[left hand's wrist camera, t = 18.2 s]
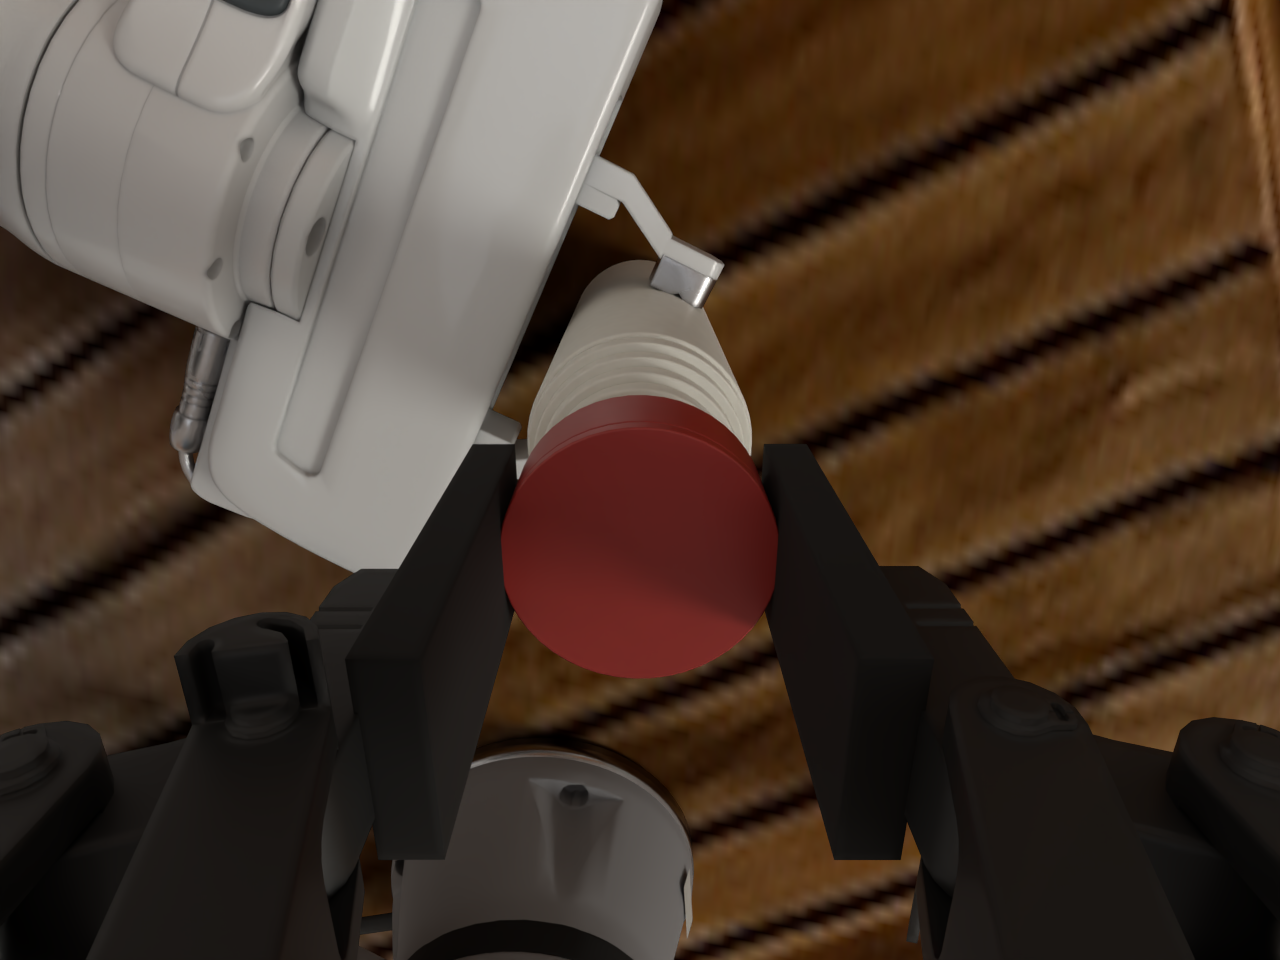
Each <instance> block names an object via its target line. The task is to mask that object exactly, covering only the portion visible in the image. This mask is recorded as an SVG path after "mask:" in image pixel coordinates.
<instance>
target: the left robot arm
mask: <svg viewBox="0 0 1280 960" xmlns="http://www.w3.org/2000/svg"><path fill="white" fill-rule="evenodd" d="M762 484H763V487H764V490H765V492H766V495H767V497H768V500H769V503H770V505H771V508H772V510H773V513H774V516H775V518H776V522H777V527H778V547H777V561H776V574H775V587H774V591H773V594H772V597H771V599H770V601H769V603H768V605H767V607H766V609H765V613H766V617H767V620H768V624H769V628H770V631H771V635H772V638H773V642H774V646H775V649H776V653H777V656H778V660H779V663H780V667H781V671H782V674H783V678H784V681H785V685H786V689H787V692H788V696H789V699H790V703H791V706H792V710H793V714H794V717H795V721H796V724H797V728H798V732H799V735H800V739H801V742H802V746H803V749H804V753H805V757H806V760H807V764H808V767H809V771H810V775H811V778H812V782H813V785H814V789H815V792H816V796H817V800H818V803H819V807H820V810H821V814H822V818H823V821H824V825H825V828H826V832H827V835H828V839H829V843H830V846H831V850H832V853H833V857H834V860H901V855H902V849H903V843H904V837H905V831H906V825H907V822H908V825H909V827H910V830H911V832H912V835H913V837H914V840H915V842H916V845H917V847H918V849H919V852H920V854H921V860H920V865H919V871H918V877H917V882H916V888H915V893H914V899H913V904H912V910H911V915H910V921H909V927H908V934H907V941H908V942H913V943H917V941H918V935H919V930H920V935H921V944H922V952H923V960H1280V732H1279V731H1277V730H1275V729H1272V728H1269V727H1266V726H1263V725H1257V724H1256V723H1252V722H1247V721H1243V720H1235V719H1226V718H1216V717H1211V718H1205V719H1199V720H1193V721H1191V722H1190V723H1189V724H1187V725H1186V726H1185V727H1184V728H1183V729H1181V730H1180V733H1179V736H1178V739H1177V742H1176V745H1175V748H1174V752H1169V751H1164V750H1159V749H1154V748H1150V747H1145V746H1140V745H1135V744H1130V743H1125V742H1120V741H1116V740H1111V739H1108V738H1104V737H1100V736H1097V735H1093V734H1092V732H1091V730H1090V728H1089V726H1088V724H1087V722H1086V721H1085V720H1084V719H1083V717H1082V716H1081V715H1080V713H1079V712H1078V711H1077V709H1076V708H1075V707H1073V706H1072V705H1071V704H1069V703H1068V702H1067V701H1065V700H1064V699H1062V698H1061V697H1060V696H1058V695H1057V694H1055V693H1053V692H1051V691H1049V690H1046V689H1044V688H1042V687H1040V686H1037V685H1035V684H1033V683H1030V682H1026V681H1022V680H1017V679H1014V677H1013V676H1012V674H1011V673H1010V672H1009V670H1008V669H1007V668H1006V666H1005V665H1004V663H1003V662H1002V661H1001V659H1000V658H999V657H998V655H997V654H996V652H995V651H994V650H993V648H992V647H991V646H990V644H989V643H988V642H987V640H986V639H985V637H984V636H983V635H982V633H981V632H980V631H979V629H978V628H977V626H973V621H972V620H971V618H970V617H969V615H968V614H967V613H966V611H965V610H964V609H961V607H960V606H961V604H960V603H959V602H958V600H957V599H956V598H955V596H954V595H953V593H952V592H951V591H950V589H949V588H948V587H947V585H946V584H945V583H943V582H942V581H940V580H939V579H937V578H936V577H934V576H933V575H931V574H930V573H928V572H927V571H925V570H923V569H922V568H920V567H919V566H879V565H878V564H877V562H876V560H875V559H874V557H873V555H872V554H871V552H870V550H869V549H868V547H867V545H866V544H865V542H864V540H863V538H862V537H861V535H860V533H859V532H858V530H857V528H856V527H855V525H854V523H853V522H852V520H851V518H850V517H849V515H848V513H847V512H846V510H845V508H844V507H843V505H842V503H841V501H840V500H839V498H838V496H837V495H836V493H835V491H834V490H833V488H832V486H831V485H830V483H829V481H828V480H827V478H826V476H825V475H824V473H823V471H822V470H821V468H820V466H819V464H818V463H817V461H816V459H815V458H814V456H813V454H812V453H811V451H810V449H809V448H808V446H807V444H764V454H763V470H762ZM516 485H517V469H516V453H515V444H472V446H471V448H470V449H469V451H468V453H467V454H466V456H465V458H464V460H463V461H462V463H461V465H460V466H459V468H458V470H457V471H456V473H455V475H454V476H453V478H452V480H451V481H450V483H449V485H448V486H447V488H446V490H445V491H444V493H443V495H442V496H441V498H440V500H439V502H438V503H437V505H436V507H435V508H434V510H433V512H432V513H431V515H430V517H429V518H428V520H427V522H426V523H425V525H424V527H423V528H422V530H421V532H420V533H419V535H418V537H417V538H416V540H415V542H414V543H413V545H412V547H411V549H410V550H409V552H408V554H407V555H406V557H405V559H404V560H403V562H402V564H401V565H400V567H399V569H360V570H358V571H357V572H355V573H354V574H352V575H351V576H349V577H348V578H346V579H345V580H343V581H342V582H340V583H339V584H337V585H336V586H334V587H333V588H332V590H331V591H330V593H329V594H328V595H327V597H326V598H325V600H324V601H323V602H322V604H321V605H320V606H319V611H316V612H315V613H314V615H313V616H312V618H311V619H310V620H309V619H308V618H307V617H305V616H300V615H296V614H292V613H288V612H266V613H257V614H252V615H247V616H242V617H237V618H234V619H231V620H228V621H226V622H223V623H220V624H218V625H215V626H212V627H210V628H208V629H206V630H205V631H203V632H201V633H200V634H198V635H196V636H195V637H193V638H192V639H190V640H188V641H187V642H186V643H185V644H184V645H183V647H182V648H181V649H180V650H179V651H178V652H177V653H176V654H175V655H174V658H175V662H176V666H177V670H178V673H179V677H180V681H181V685H182V688H183V692H184V696H185V700H186V704H187V707H188V711H189V715H190V719H191V722H192V727H191V729H190V731H189V734H188V736H187V738H185V739H181V740H177V741H174V742H170V743H166V744H161V745H156V746H152V747H147V748H142V749H137V750H132V751H128V752H123V753H118V754H113V755H108V756H107V755H106V752H105V749H104V746H103V743H102V740H101V737H100V734H99V733H98V732H96V731H95V730H94V729H93V728H92V727H90V726H89V725H88V724H83V723H77V722H71V721H61V722H51V723H42V724H36V725H32V726H27V727H24V728H23V729H20V728H19V729H16V730H13V731H10V732H8V733H5V734H3V735H1V736H0V960H386V959H384V958H382V957H380V956H378V955H376V954H374V953H372V952H370V951H368V950H366V949H364V948H362V947H360V946H359V937H360V935H361V934H368V933H376V932H383V931H389V930H392V931H393V960H674V956H675V953H676V949H677V945H678V942H679V938H680V934H681V930H682V926H683V923H684V921H685V918H686V929H687V938H688V934H689V931H690V927H691V924H692V903H691V896H692V886H693V875H694V869H693V853H692V841H691V836H690V831H689V828H688V825H687V821H686V819H685V817H684V815H683V812H682V810H681V809H680V807H679V805H678V804H677V802H676V800H675V799H674V798H673V797H672V795H671V794H670V793H669V791H668V790H667V789H666V788H665V787H664V786H663V785H662V784H661V783H660V782H659V781H658V780H657V779H656V778H655V777H653V776H652V775H651V774H650V773H649V772H647V771H646V770H644V769H643V768H642V767H640V766H639V765H637V764H635V763H634V762H632V761H630V760H628V759H627V758H625V757H623V756H621V755H618V754H616V753H614V752H612V751H609V750H606V749H604V748H601V747H598V746H594V745H591V744H587V743H583V742H578V741H573V740H567V739H557V738H522V739H514V740H507V741H502V742H498V743H493V744H490V745H486V746H483V747H480V748H477V749H476V746H477V743H478V739H479V735H480V732H481V728H482V725H483V721H484V718H485V714H486V710H487V707H488V703H489V700H490V696H491V692H492V689H493V685H494V682H495V678H496V675H497V671H498V667H499V664H500V660H501V657H502V653H503V649H504V646H505V642H506V639H507V635H508V632H509V628H510V624H511V621H512V617H513V614H514V608H513V606H512V605H511V603H510V601H509V598H508V596H507V593H506V591H505V586H504V573H503V560H502V546H501V528H502V523H503V520H504V517H505V514H506V511H507V509H508V506H509V503H510V501H511V498H512V496H513V493H514V490H515V488H516ZM372 824H373V830H374V836H375V842H376V848H377V854H378V860H393V861H392V869H391V887H392V896H393V909H392V913H387V914H380V915H373V916H366V917H362V910H363V901H364V893H365V891H364V884H363V877H362V871H361V865H360V860H359V856H360V854H361V851H362V849H363V846H364V844H365V841H366V839H367V836H368V834H369V831H370V829H371V826H372Z"/></svg>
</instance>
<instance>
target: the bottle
mask: <svg viewBox="0 0 1280 960" xmlns="http://www.w3.org/2000/svg"><path fill="white" fill-rule="evenodd" d="M655 263H656V262H653V261H648V260H631V261H626V262H622V263H619V264H616V265H613V266H611V267H609V268H607V269H606V270H604V271H603V272H601V273H600V274H598V275H597V276H596V277H595V278H594V279H593V280H592V281H591V282H590V284H589V285H588V286H587V287H586V289H585V290H584V292H583V294H582V295H581V298H580V300H579V302H578V304H577V307H576V309H575V311H574V313H573V315H572V318H571V320H570V322H569V324H568V327H567V329H566V331H565V333H564V336H563V338H562V340H561V342H560V345H559V347H558V349H557V351H556V354H555V356H554V358H553V360H552V363H551V365H550V367H549V369H548V372H547V374H546V376H545V378H544V380H543V383H542V385H541V387H540V389H539V392H538V394H537V396H536V398H535V401H534V403H533V406H532V410H531V413H530V417H529V424H528V455H530V454H531V452H532V450H533V449H534V448H535V446H536V445H537V444H538V442H539V441H540V440H541V438H542V437H543V436H544V435H545V434H546V433H547V432H548V431H549V430H550V429H551V428H552V427H553V426H555V425H556V424H557V423H559V422H560V421H561V420H562V419H564V418H565V417H567V416H568V415H570V414H572V413H573V412H575V411H577V410H579V409H580V408H583V407H585V406H588V405H590V404H592V403H595V402H598V401H602V400H605V399H609V398H613V397H620V396H627V395H651V396H659V397H666V398H670V399H674V400H678V401H681V402H684V403H687V404H689V405H692V406H694V407H697V408H699V409H700V410H702V411H704V412H706V413H708V414H710V415H711V416H713V417H714V418H715V419H717V420H718V421H720V422H721V423H722V424H724V425H725V426H726V427H727V428H728V429H729V430H730V431H731V432H732V433H733V434H734V435H735V436H736V437H737V438H738V439H739V441H740V442H741V443H742V444H743V446H744V447H745V448H746V450H747V452H748V453H749V455H750V457H751V446H752V429H751V422H750V416H749V412H748V409H747V406H746V402H745V400H744V398H743V395H742V393H741V391H740V389H739V386H738V384H737V382H736V380H735V378H734V375H733V373H732V371H731V369H730V366H729V364H728V362H727V360H726V357H725V355H724V353H723V351H722V348H721V346H720V344H719V342H718V339H717V337H716V335H715V333H714V331H713V328H712V326H711V324H710V322H709V319H708V317H707V315H706V313H705V310H704V308H702V309H700V308H696V307H694V306H692V305H689V304H688V303H686V302H685V301H684V300H682V298H681V296H680V294H679V293H678V294H672V295H671V294H668V293H665V292H663V291H661V290H659V289H657V288H655V287H653V286H651V285H650V280H649V277H650V275H651V272H652V270H653V268H654V266H655Z"/></svg>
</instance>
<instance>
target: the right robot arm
mask: <svg viewBox="0 0 1280 960" xmlns="http://www.w3.org/2000/svg"><path fill="white" fill-rule="evenodd" d="M661 5H662V0H0V226H1V227H3V228H5V229H6V230H8V231H9V232H10V233H12V234H13V235H14V236H15V237H17V238H18V239H19V240H20V241H22V242H23V243H24V244H25V245H26V246H28V247H29V248H30V249H32V250H33V251H35V252H36V253H37V254H39V255H41V256H42V257H44V258H45V259H47V260H49V261H51V262H52V263H54V264H56V265H58V266H60V267H62V268H65V269H67V270H70V271H72V272H74V273H76V274H79V275H81V276H83V277H86V278H88V279H90V280H92V281H95V282H97V283H99V284H102V285H104V286H106V287H109V288H111V289H113V290H115V291H118V292H120V293H122V294H125V295H127V296H129V297H132V298H134V299H136V300H139V301H141V302H143V303H145V304H148V305H150V306H153V307H155V308H157V309H159V310H162V311H164V312H166V313H169V314H171V315H173V316H175V317H178V318H180V319H182V320H185V321H187V322H189V323H192V324H194V325H196V328H195V332H194V335H193V341H192V344H191V348H190V352H189V356H188V360H187V365H186V370H185V379H184V380H185V382H184V389H183V392H182V397H181V400H180V404H179V406H177V407H176V409H175V411H174V414H173V417H172V420H171V425H170V434H169V438H170V445H171V446H172V447H173V448H174V449H176V450H178V451H179V460H180V464H181V467H182V470H183V472H184V474H185V476H186V478H187V479H188V481H189V482H190V484H191V488H192V489H193V491H194V492H195V493H196V494H198V495H199V496H200V497H202V498H203V499H205V500H207V501H208V502H210V503H213V504H215V505H218V506H220V507H223V508H225V509H228V510H230V511H233V512H235V513H238V514H240V515H243V516H245V517H249V518H252V519H255V520H256V521H258V522H259V523H261V524H263V525H264V526H266V527H268V528H269V529H271V530H273V531H274V532H276V533H278V534H280V535H281V536H283V537H285V538H287V539H288V540H290V541H292V542H294V543H296V544H297V545H299V546H301V547H303V548H305V549H307V550H309V551H311V552H313V553H315V554H317V555H318V556H320V557H322V558H324V559H326V560H328V561H330V562H332V563H335V564H337V565H339V566H341V567H343V568H345V569H347V570H349V571H351V572H353V573H355V572H357V571H358V570H360V569H399V567H400V565H401V564H402V562H403V560H404V559H405V557H406V555H407V554H408V552H409V550H410V549H411V547H412V545H413V543H414V542H415V540H416V538H417V537H418V535H419V533H420V532H421V530H422V528H423V527H424V525H425V523H426V522H427V520H428V518H429V517H430V515H431V513H432V512H433V510H434V508H435V507H436V505H437V503H438V502H439V500H440V498H441V496H442V495H443V493H444V491H445V490H446V488H447V486H448V485H449V483H450V481H451V480H452V478H453V476H454V475H455V473H456V471H457V470H458V468H459V466H460V465H461V463H462V461H463V460H464V458H465V456H466V454H467V453H468V451H469V449H470V448H471V446H472V444H515V453H516V469H517V479H519V477H520V475H521V472H522V470H523V467H524V465H525V463H526V461H527V459H528V457H529V455H528V439H517V437H518V435H519V433H520V430H521V428H522V426H521V424H520V423H519V422H517V421H515V420H513V419H511V418H508V417H506V416H504V415H502V414H500V413H497V412H495V411H493V410H492V409H493V407H494V405H495V402H496V400H497V398H498V395H499V393H500V390H501V388H502V386H503V383H504V381H505V379H506V376H507V374H508V371H509V369H510V367H511V364H512V362H513V360H514V357H515V355H516V352H517V350H518V348H519V345H520V343H521V341H522V338H523V336H524V333H525V331H526V329H527V326H528V324H529V322H530V319H531V317H532V315H533V312H534V310H535V307H536V305H537V303H538V300H539V298H540V296H541V293H542V291H543V288H544V286H545V284H546V281H547V279H548V277H549V274H550V272H551V269H552V267H553V265H554V262H555V260H556V258H557V255H558V253H559V250H560V248H561V246H562V243H563V241H564V239H565V236H566V234H567V232H568V229H569V227H570V224H571V222H572V220H573V217H574V215H575V213H576V210H577V208H578V205H580V206H582V207H584V208H586V209H588V210H590V211H592V212H594V213H596V214H598V215H601V216H603V217H605V218H607V219H611V218H613V217H614V216H615V214H616V212H617V210H618V208H619V206H620V203H621V202H623V204H624V205H625V207H626V208H627V210H628V211H629V213H630V214H631V216H632V217H633V219H634V220H635V222H636V223H637V225H638V226H639V228H640V229H641V231H642V232H643V234H644V235H645V237H646V238H647V240H648V241H649V243H650V244H651V246H652V247H653V249H654V250H655V252H656V253H657V255H658V256H659V257H658V259H657V261H656V263H655V266H654V268H653V270H652V272H651V275H650V277H649V280H650V285H651V286H653V287H655V288H657V289H659V290H661V291H663V292H665V293H668V294H671V295H672V294H678V293H679V294H680V296H681V298H682V300H684V301H685V302H686V303H688V304H689V305H692V306H694V307H696V308H700V309H702V308H703V306H704V304H705V302H706V300H707V298H708V296H709V294H710V292H711V290H712V289H713V287H714V285H715V283H716V281H717V279H718V277H719V275H720V273H721V271H722V269H723V267H724V264H723V262H722V261H720V260H719V259H717V258H716V257H714V256H712V255H711V254H709V253H707V252H705V251H703V250H701V249H699V248H697V247H695V246H693V245H691V244H689V243H687V242H685V241H683V240H681V239H679V238H677V237H675V236H673V235H672V232H671V230H670V228H669V227H668V225H667V224H666V222H665V221H664V219H663V217H662V216H661V214H660V213H659V211H658V210H657V208H656V207H655V205H654V204H653V202H652V201H651V199H650V198H649V196H648V194H647V193H646V191H645V190H644V188H643V187H642V185H641V184H640V182H639V181H638V179H637V178H636V176H635V175H634V174H633V173H631V172H629V171H627V170H625V169H624V168H622V167H620V166H618V165H616V164H614V163H612V162H610V161H608V160H606V159H604V158H602V157H600V153H601V151H602V149H603V146H604V144H605V141H606V139H607V137H608V134H609V132H610V130H611V127H612V125H613V122H614V120H615V118H616V115H617V113H618V111H619V108H620V106H621V103H622V101H623V99H624V96H625V94H626V92H627V89H628V87H629V85H630V82H631V80H632V77H633V75H634V73H635V70H636V68H637V66H638V63H639V61H640V58H641V56H642V54H643V51H644V49H645V47H646V44H647V42H648V39H649V37H650V35H651V32H652V30H653V27H654V25H655V23H656V20H657V18H658V15H659V13H660V9H661ZM620 201H621V202H620ZM197 452H199V454H198V457H197V461H196V464H195V463H194V459H193V453H197Z"/></svg>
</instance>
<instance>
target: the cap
mask: <svg viewBox="0 0 1280 960" xmlns="http://www.w3.org/2000/svg"><path fill="white" fill-rule="evenodd" d="M501 546H502V560H503V573H504V586H505V591H506V593H507V596H508V598H509V601H510V603H511V605H512V606H513V608H514V610H515V612H516V613H517V615H518V617H519V618H520V620H521V621H522V622H523V624H524V625H525V626H526V627H527V629H528V630H529V631H530V632H531V633H532V634H533V635H534V636H535V637H536V638H537V639H538V640H539V641H540V642H541V643H542V644H544V645H545V646H546V647H547V648H549V649H550V650H551V651H552V652H554V653H556V654H557V655H559V656H560V657H562V658H564V659H565V660H567V661H569V662H571V663H573V664H576V665H578V666H580V667H582V668H585V669H588V670H591V671H594V672H597V673H601V674H605V675H610V676H615V677H624V678H655V677H664V676H670V675H674V674H678V673H682V672H686V671H688V670H691V669H694V668H697V667H700V666H702V665H704V664H706V663H708V662H710V661H712V660H714V659H716V658H717V657H719V656H720V655H722V654H724V653H725V652H727V651H728V650H730V649H731V648H732V647H733V646H734V645H736V644H737V643H738V642H739V641H740V640H742V639H743V638H744V637H745V635H746V634H747V633H748V632H749V631H750V630H751V629H752V628H753V627H754V625H755V624H756V623H757V621H758V620H759V618H760V617H761V616H762V614H763V613H764V611H765V609H766V607H767V605H768V603H769V601H770V599H771V597H772V594H773V591H774V587H775V574H776V561H777V547H778V527H777V522H776V518H775V516H774V513H773V510H772V508H771V505H770V503H769V500H768V497H767V495H766V492H765V490H764V487H763V484H762V482H761V479H760V477H759V474H758V472H757V469H756V467H755V464H754V462H753V460H752V458H751V457H750V455H749V453H748V452H747V450H746V448H745V447H744V446H743V444H742V443H741V442H740V441H739V439H738V438H737V437H736V436H735V435H734V434H733V433H732V432H731V431H730V430H729V429H728V428H727V427H726V426H725V425H724V424H722V423H721V422H720V421H718V420H717V419H715V418H714V417H713V416H711V415H710V414H708V413H706V412H704V411H702V410H700V409H699V408H697V407H694V406H692V405H689V404H687V403H684V402H681V401H678V400H674V399H670V398H666V397H659V396H651V395H627V396H620V397H613V398H609V399H605V400H602V401H598V402H595V403H592V404H590V405H588V406H585V407H583V408H580V409H579V410H577V411H575V412H573V413H572V414H570V415H568V416H567V417H565V418H564V419H562V420H561V421H560V422H559V423H557V424H556V425H555V426H553V427H552V428H551V429H550V430H549V431H548V432H547V433H546V434H545V435H544V436H543V437H542V438H541V440H540V441H539V442H538V444H537V445H536V446H535V448H534V449H533V450H532V452H531V454H530V455H529V457H528V459H527V461H526V463H525V465H524V467H523V470H522V472H521V475H520V477H519V480H518V483H517V485H516V488H515V490H514V493H513V496H512V498H511V501H510V503H509V506H508V509H507V511H506V514H505V517H504V520H503V523H502V528H501Z"/></svg>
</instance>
